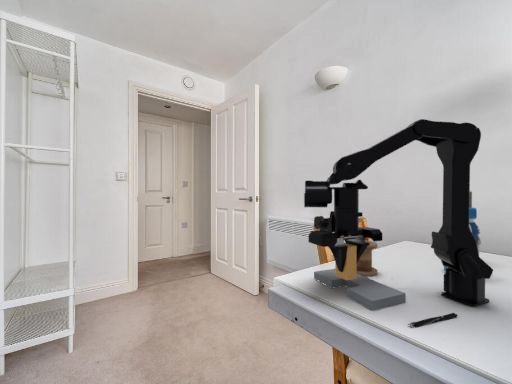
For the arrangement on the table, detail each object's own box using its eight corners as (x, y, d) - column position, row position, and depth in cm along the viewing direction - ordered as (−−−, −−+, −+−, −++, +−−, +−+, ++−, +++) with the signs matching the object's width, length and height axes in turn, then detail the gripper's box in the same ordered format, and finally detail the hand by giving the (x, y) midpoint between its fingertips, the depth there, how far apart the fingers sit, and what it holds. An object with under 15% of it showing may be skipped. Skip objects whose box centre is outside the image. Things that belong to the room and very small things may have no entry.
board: (405, 302, 55) (405, 293, 55) (372, 310, 51) (372, 301, 51) (341, 274, 73) (341, 267, 73) (314, 278, 69) (314, 271, 69)
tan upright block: (356, 278, 60) (356, 245, 60) (346, 280, 59) (346, 246, 58) (344, 273, 63) (344, 242, 63) (335, 275, 62) (335, 243, 62)
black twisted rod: (411, 330, 44) (412, 325, 44) (406, 327, 45) (406, 322, 45) (457, 319, 48) (457, 314, 48) (452, 316, 49) (452, 311, 49)
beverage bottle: (436, 272, 75) (436, 206, 75) (454, 269, 78) (454, 206, 78) (468, 281, 67) (469, 208, 67) (487, 277, 70) (487, 207, 70)
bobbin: (383, 274, 73) (383, 244, 73) (363, 278, 70) (363, 246, 70) (362, 266, 80) (362, 239, 80) (343, 269, 77) (343, 241, 77)
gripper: (351, 205, 72) (350, 258, 72) (296, 206, 65) (296, 266, 65) (384, 207, 62) (383, 269, 62) (323, 209, 54) (323, 280, 54)
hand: (346, 270), depth 61 cm, fingers closed on tan upright block, 3 cm apart
